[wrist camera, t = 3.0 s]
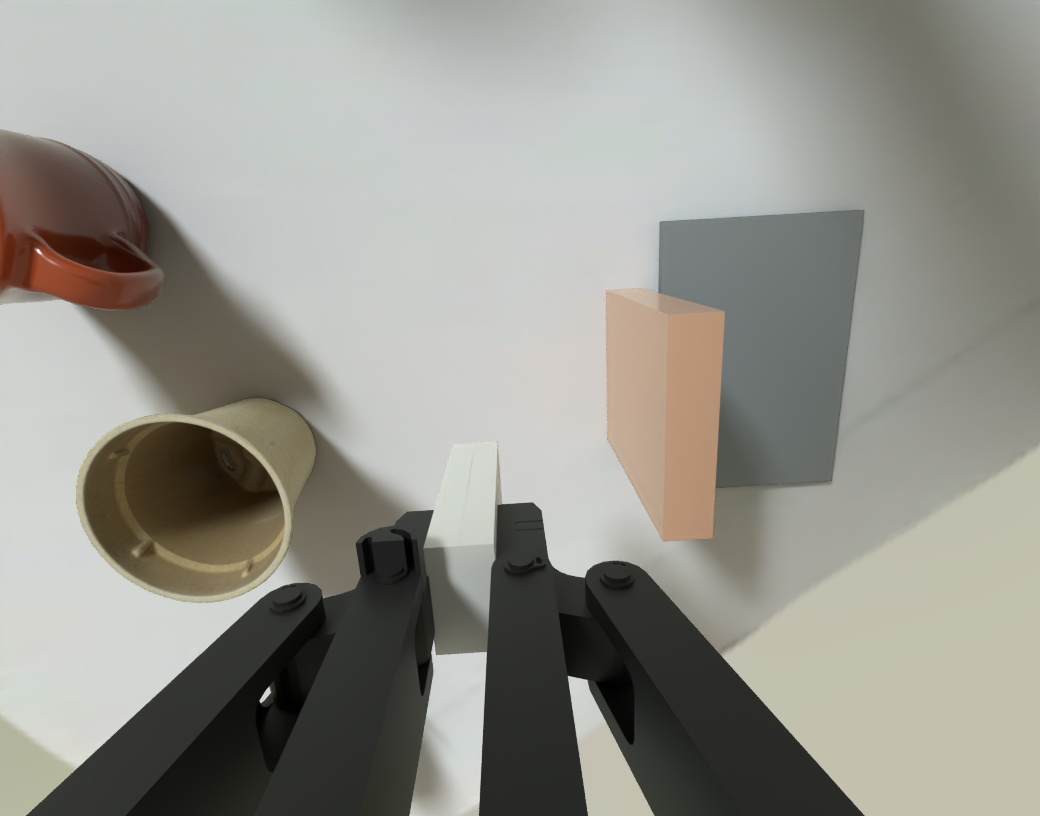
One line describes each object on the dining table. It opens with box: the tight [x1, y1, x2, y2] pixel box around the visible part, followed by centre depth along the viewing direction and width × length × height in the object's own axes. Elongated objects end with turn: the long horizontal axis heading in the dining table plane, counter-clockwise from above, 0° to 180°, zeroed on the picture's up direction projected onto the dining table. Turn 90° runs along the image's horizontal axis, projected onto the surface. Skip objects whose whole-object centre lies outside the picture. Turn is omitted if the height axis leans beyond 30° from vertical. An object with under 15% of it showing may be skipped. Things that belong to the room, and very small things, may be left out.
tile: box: [606, 288, 725, 541], centre depth 26 cm, size 9×2×12 cm, turn 3°
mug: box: [0, 129, 165, 311], centre depth 24 cm, size 12×9×10 cm
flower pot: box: [76, 398, 316, 603], centre depth 28 cm, size 9×9×9 cm
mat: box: [659, 210, 864, 488], centre depth 31 cm, size 16×11×1 cm
